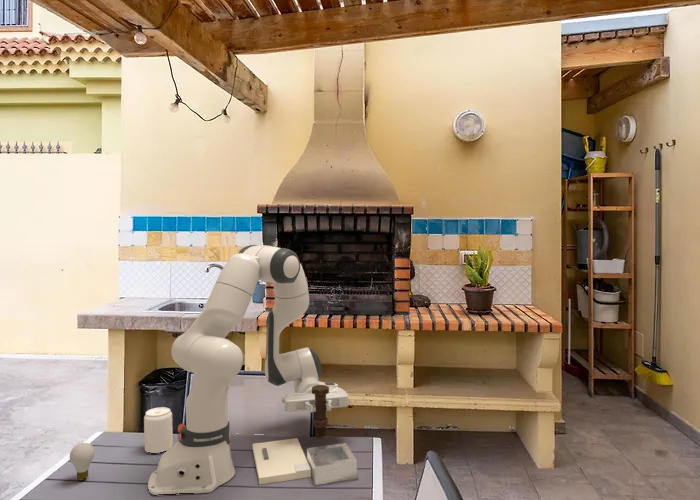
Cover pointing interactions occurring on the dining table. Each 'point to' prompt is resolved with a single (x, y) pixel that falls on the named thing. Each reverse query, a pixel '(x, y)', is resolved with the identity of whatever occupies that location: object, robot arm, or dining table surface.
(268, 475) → the cabinet door
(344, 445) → the hollow square frame
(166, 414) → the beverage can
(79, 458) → the light bulb
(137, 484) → the dining table surface
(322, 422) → the bolt
